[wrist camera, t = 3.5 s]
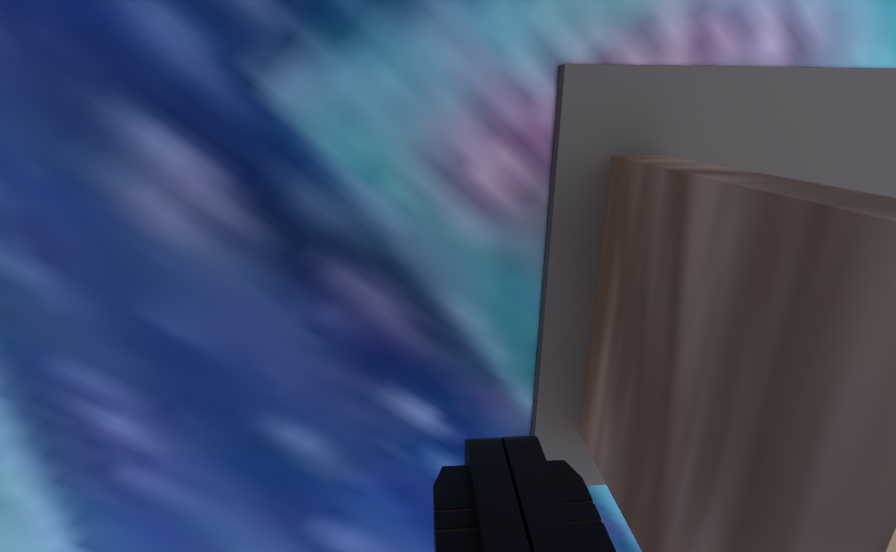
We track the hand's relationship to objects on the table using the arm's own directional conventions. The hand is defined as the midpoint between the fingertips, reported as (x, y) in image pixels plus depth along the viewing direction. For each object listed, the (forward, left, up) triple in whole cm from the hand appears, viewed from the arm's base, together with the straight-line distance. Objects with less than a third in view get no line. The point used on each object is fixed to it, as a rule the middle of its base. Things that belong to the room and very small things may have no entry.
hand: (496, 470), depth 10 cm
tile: (+7, 0, -9) cm, 11 cm away
